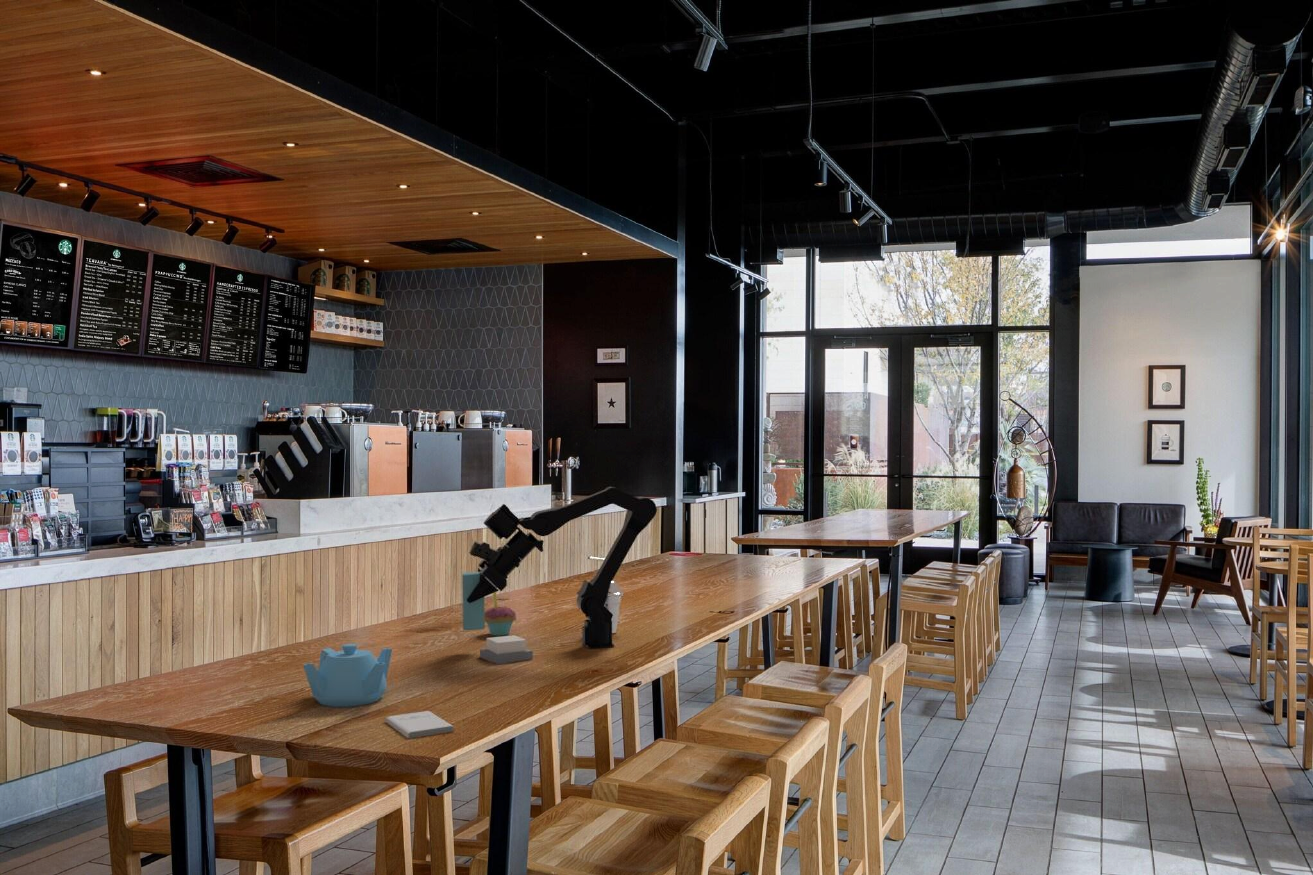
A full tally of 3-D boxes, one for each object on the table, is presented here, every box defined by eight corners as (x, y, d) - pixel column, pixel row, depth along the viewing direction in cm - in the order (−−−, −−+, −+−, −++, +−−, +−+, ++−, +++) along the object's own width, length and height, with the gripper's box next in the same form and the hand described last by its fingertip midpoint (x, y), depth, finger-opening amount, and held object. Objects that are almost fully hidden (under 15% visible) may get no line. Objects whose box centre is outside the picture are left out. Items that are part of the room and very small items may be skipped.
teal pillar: (483, 625, 257) (483, 571, 257) (484, 629, 252) (484, 574, 252) (462, 626, 256) (462, 572, 256) (463, 630, 251) (462, 575, 251)
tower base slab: (514, 655, 252) (514, 644, 252) (532, 661, 245) (532, 650, 245) (480, 659, 247) (480, 649, 247) (497, 666, 240) (497, 655, 240)
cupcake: (499, 638, 271) (499, 591, 271) (476, 634, 276) (475, 588, 276) (523, 633, 278) (522, 587, 278) (500, 629, 283) (499, 584, 283)
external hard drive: (408, 741, 180) (385, 724, 191) (454, 734, 184) (429, 718, 195) (408, 732, 180) (385, 715, 191) (454, 725, 184) (429, 709, 195)
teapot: (396, 689, 216) (396, 636, 216) (385, 707, 201) (385, 650, 201) (318, 691, 214) (318, 638, 214) (302, 710, 199) (301, 653, 199)
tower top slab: (514, 645, 251) (514, 635, 251) (526, 650, 245) (526, 639, 245) (486, 648, 248) (486, 638, 248) (497, 653, 242) (497, 642, 242)
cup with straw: (620, 635, 274) (620, 557, 274) (586, 634, 275) (586, 557, 275) (626, 629, 282) (626, 554, 282) (593, 628, 284) (593, 553, 284)
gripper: (487, 526, 264) (442, 572, 261) (492, 532, 246) (443, 582, 243) (519, 557, 266) (474, 603, 263) (526, 565, 247) (478, 615, 245)
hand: (467, 600), depth 254 cm, fingers closed on teal pillar, 5 cm apart
